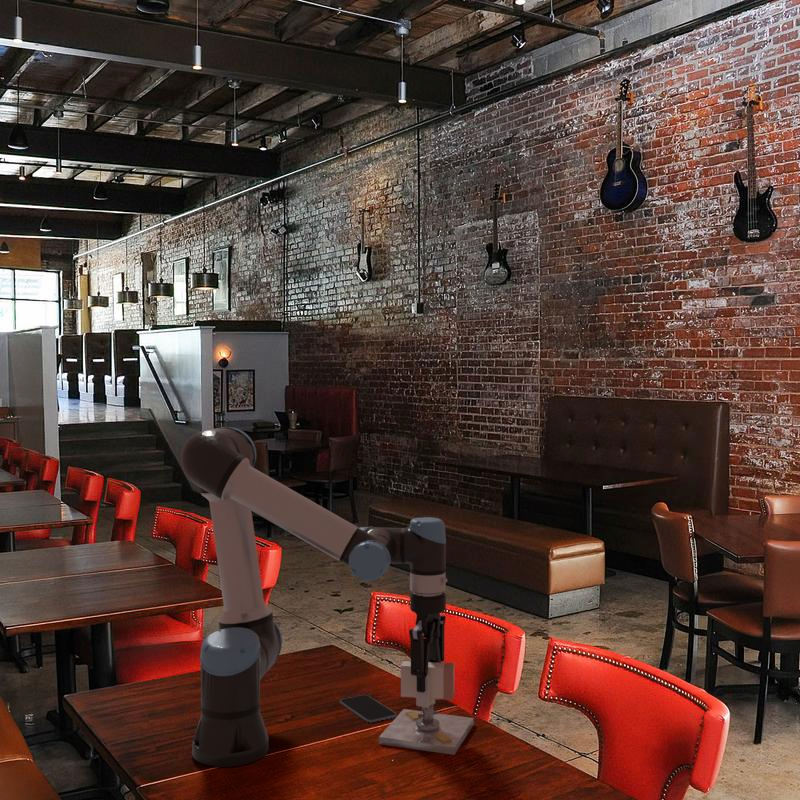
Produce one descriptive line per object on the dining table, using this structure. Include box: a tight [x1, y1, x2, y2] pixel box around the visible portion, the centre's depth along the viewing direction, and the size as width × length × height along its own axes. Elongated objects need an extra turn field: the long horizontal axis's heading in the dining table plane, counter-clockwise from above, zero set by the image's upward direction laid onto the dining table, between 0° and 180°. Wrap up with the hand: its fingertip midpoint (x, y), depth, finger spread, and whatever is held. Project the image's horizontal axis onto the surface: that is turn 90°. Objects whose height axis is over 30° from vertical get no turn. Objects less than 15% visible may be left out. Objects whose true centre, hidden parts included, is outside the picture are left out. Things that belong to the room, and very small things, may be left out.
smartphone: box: [339, 694, 397, 724], centre depth 200 cm, size 7×1×15 cm
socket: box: [378, 704, 475, 756], centre depth 186 cm, size 16×16×6 cm
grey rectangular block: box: [400, 660, 455, 706], centre depth 185 cm, size 11×3×8 cm, turn 82°
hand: (428, 701), depth 185 cm, fingers closed on grey rectangular block, 4 cm apart
